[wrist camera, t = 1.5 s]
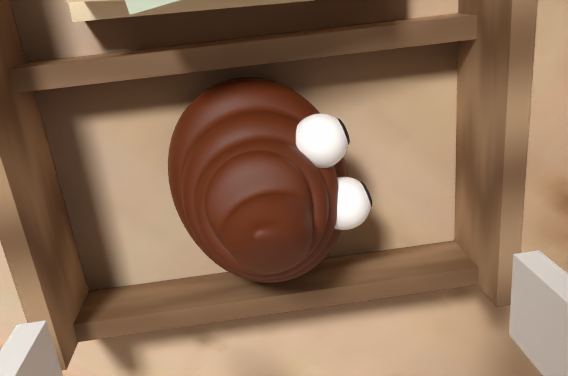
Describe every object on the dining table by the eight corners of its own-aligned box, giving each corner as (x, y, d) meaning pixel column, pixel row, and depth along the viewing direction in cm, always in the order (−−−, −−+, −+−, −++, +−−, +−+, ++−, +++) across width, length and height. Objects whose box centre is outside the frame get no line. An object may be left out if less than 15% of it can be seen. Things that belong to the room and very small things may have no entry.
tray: (-93, -266, 19) (-194, -346, 15) (489, -312, 21) (565, -400, 16) (74, 309, 28) (43, 372, 24) (471, 254, 30) (517, 303, 25)
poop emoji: (139, 113, 25) (91, 179, 17) (305, 43, 25) (346, 73, 16) (224, 280, 29) (222, 406, 20) (370, 221, 28) (433, 324, 20)
